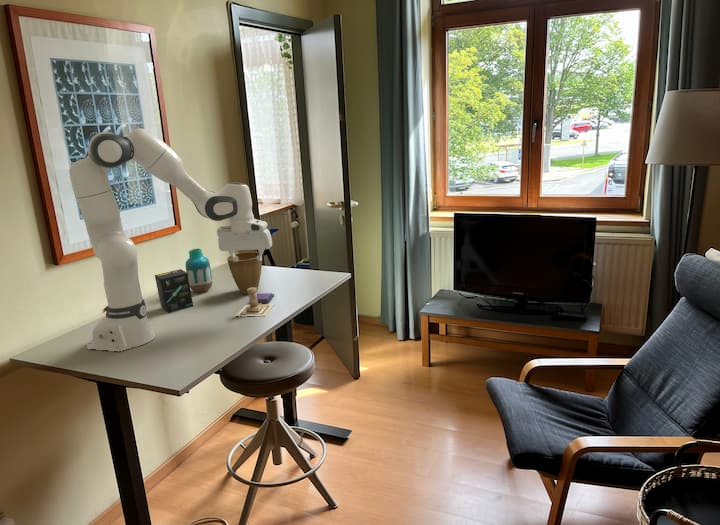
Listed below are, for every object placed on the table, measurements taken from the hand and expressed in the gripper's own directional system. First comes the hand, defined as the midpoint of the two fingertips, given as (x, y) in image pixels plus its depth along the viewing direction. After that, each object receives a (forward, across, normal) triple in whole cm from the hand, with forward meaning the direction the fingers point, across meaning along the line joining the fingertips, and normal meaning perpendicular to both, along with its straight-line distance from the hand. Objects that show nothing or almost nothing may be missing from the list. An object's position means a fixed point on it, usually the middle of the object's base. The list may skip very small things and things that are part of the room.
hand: (247, 261), depth 199 cm
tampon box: (+21, -36, +7) cm, 42 cm away
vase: (+21, -34, +27) cm, 48 cm away
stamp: (+20, 0, 0) cm, 20 cm away
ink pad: (+20, -1, +12) cm, 24 cm away
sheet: (+20, 0, 0) cm, 20 cm away
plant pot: (+20, -11, +25) cm, 34 cm away
